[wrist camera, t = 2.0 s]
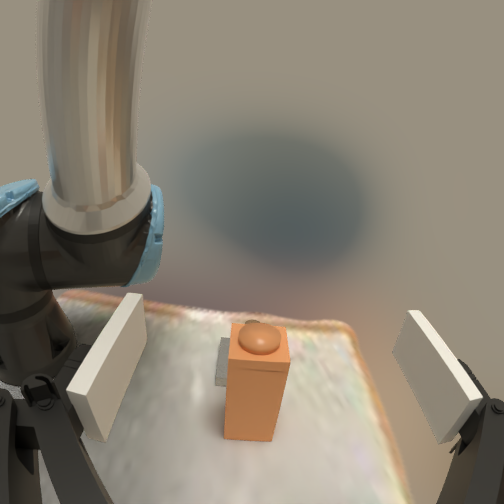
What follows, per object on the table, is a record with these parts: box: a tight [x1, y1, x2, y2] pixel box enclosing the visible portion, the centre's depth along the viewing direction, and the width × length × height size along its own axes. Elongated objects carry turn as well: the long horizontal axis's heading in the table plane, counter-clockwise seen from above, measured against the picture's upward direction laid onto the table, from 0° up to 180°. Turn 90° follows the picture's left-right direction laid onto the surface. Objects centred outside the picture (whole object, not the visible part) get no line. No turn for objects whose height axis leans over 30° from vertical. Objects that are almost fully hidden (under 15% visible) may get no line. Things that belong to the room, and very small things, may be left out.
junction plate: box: [216, 320, 260, 386], centre depth 39 cm, size 8×8×7 cm
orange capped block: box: [224, 323, 290, 441], centre depth 29 cm, size 5×5×13 cm
